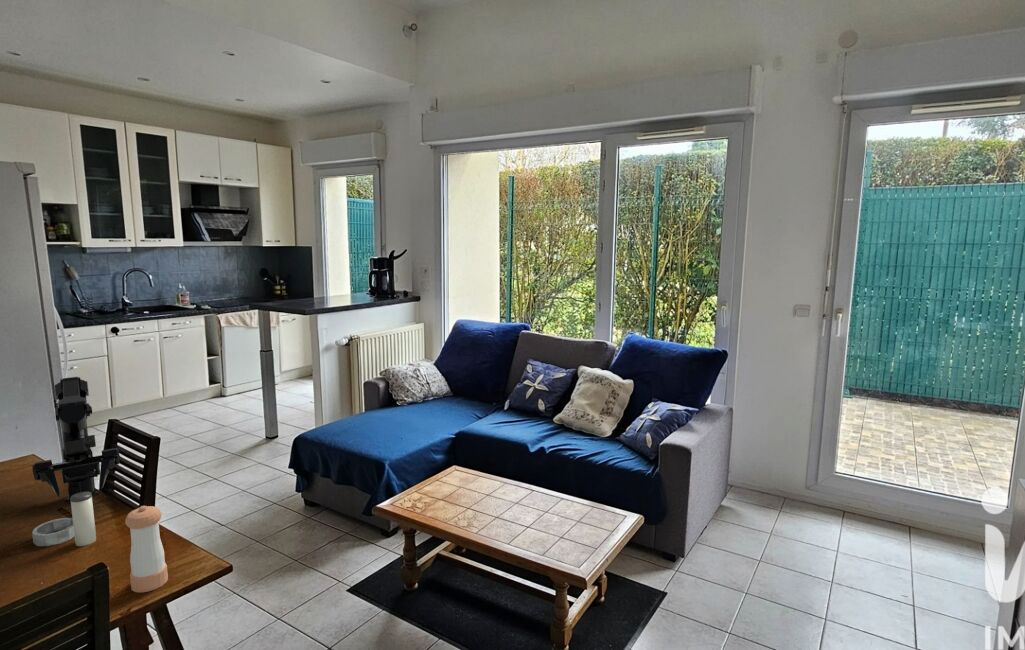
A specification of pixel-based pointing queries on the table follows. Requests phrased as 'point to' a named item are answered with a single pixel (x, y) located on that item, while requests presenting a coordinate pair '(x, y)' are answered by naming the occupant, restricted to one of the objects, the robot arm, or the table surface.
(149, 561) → the pepper shaker
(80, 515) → the peg
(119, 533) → the table surface
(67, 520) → the collar
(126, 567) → the table surface
